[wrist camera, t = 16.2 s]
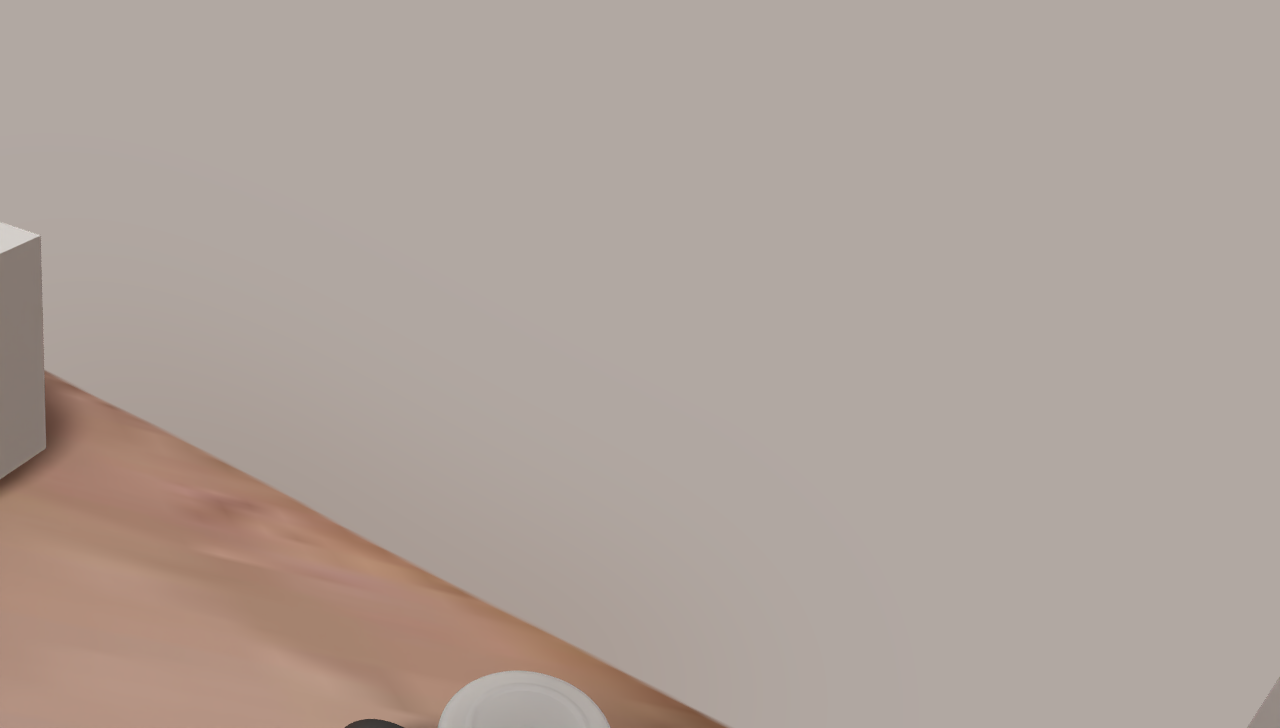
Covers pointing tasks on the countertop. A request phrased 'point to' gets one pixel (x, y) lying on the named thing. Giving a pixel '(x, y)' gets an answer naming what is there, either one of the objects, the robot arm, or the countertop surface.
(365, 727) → the toy chassis
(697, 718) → the countertop surface
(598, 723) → the spice jar
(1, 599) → the countertop surface
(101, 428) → the countertop surface
